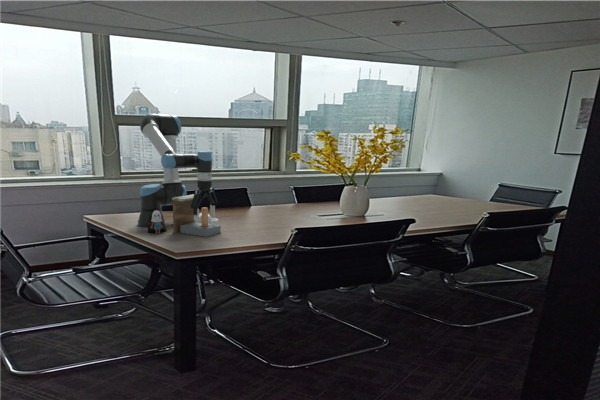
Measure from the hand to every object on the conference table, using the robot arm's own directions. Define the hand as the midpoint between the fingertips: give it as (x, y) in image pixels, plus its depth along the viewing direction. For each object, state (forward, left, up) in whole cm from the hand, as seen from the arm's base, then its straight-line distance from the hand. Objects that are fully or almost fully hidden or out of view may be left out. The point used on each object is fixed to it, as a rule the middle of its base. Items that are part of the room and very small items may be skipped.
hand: (204, 219), depth 239 cm
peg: (0, 0, -8) cm, 8 cm away
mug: (-9, +14, -8) cm, 18 cm away
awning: (-11, 0, -8) cm, 13 cm away
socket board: (-3, 0, -8) cm, 8 cm away
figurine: (-23, -12, -8) cm, 27 cm away
